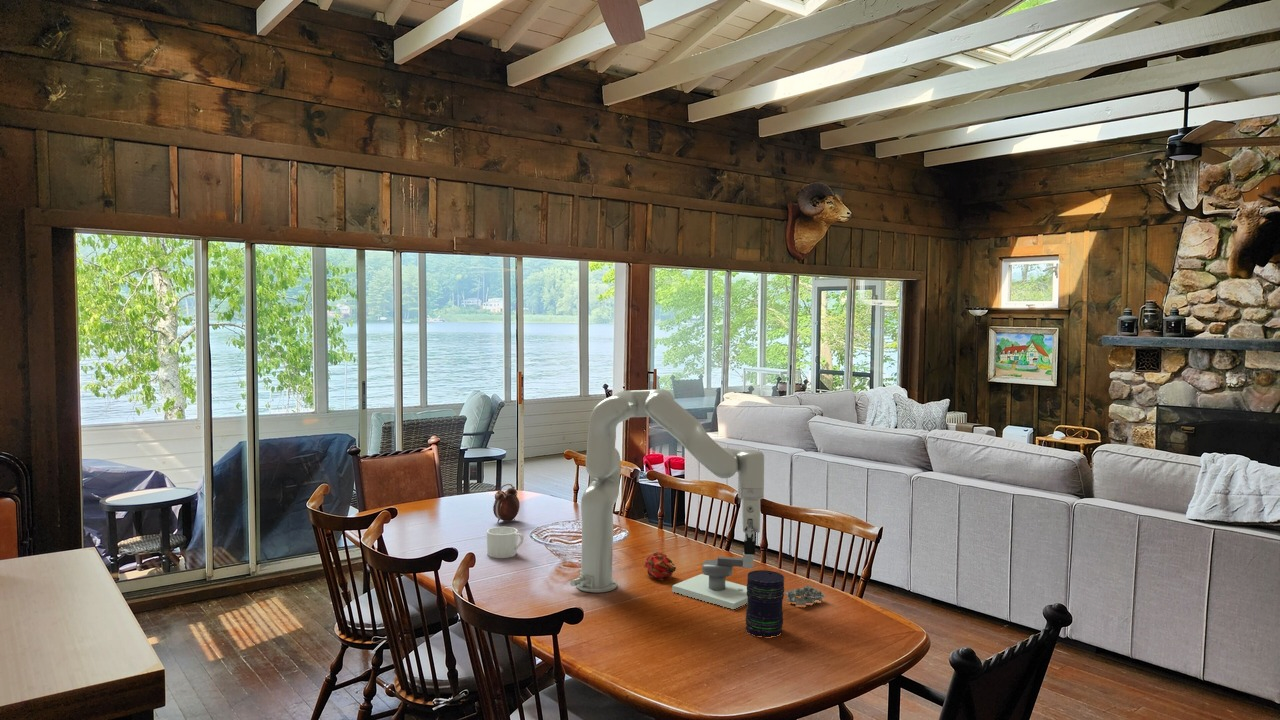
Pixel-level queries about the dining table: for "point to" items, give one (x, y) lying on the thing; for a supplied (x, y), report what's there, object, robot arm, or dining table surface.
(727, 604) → the base
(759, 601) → the storage jar
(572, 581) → the robot arm
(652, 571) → the dragon fruit
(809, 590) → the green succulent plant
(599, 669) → the dining table surface
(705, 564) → the grey lever knob
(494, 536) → the mug
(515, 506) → the alarm clock
